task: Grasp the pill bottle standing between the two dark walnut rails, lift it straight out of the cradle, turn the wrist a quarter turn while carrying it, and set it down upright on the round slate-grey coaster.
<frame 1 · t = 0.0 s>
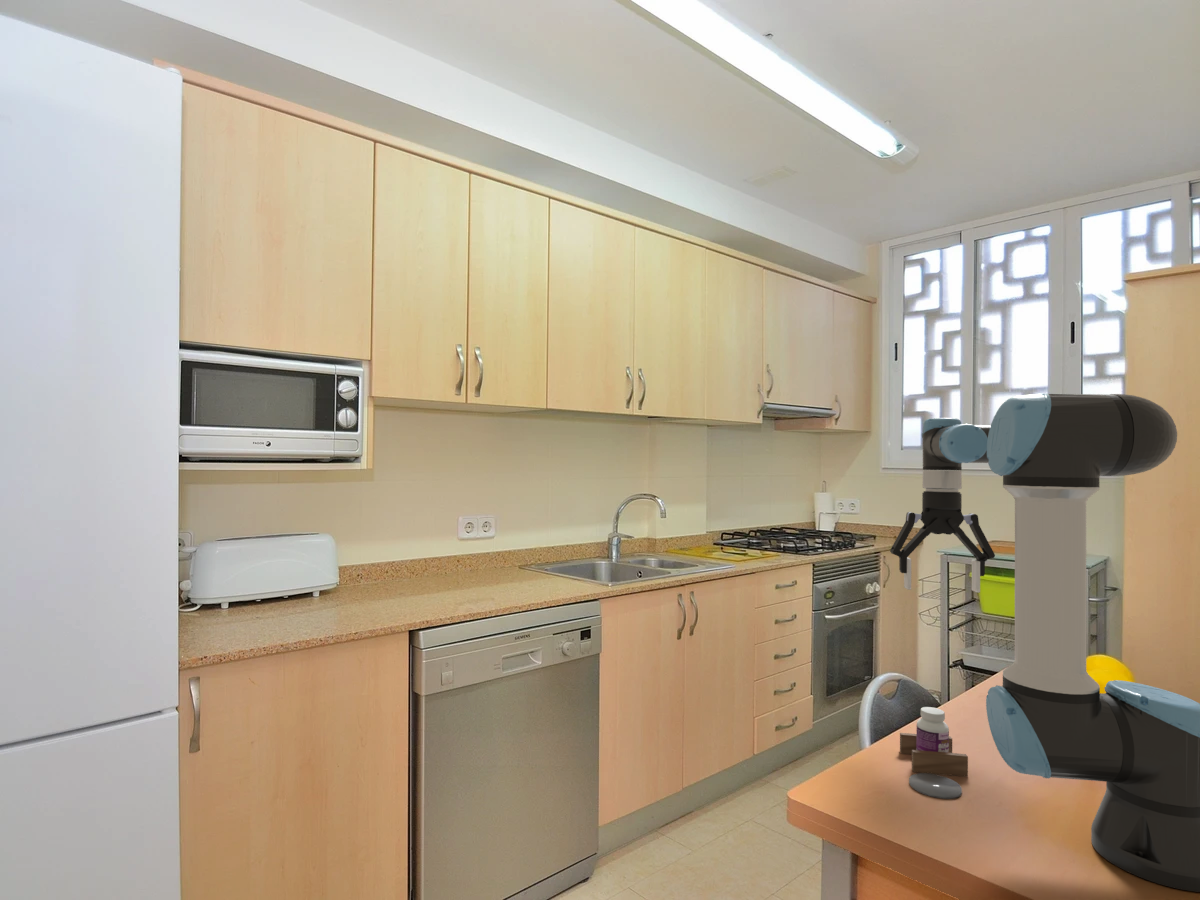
hand: (941, 590, 146), 28 cm above the table, fingers open, 13 cm apart
rail cradle: (932, 763, 125), on the table
pill bottle: (932, 764, 125), on the table
coaster: (935, 787, 116), on the table
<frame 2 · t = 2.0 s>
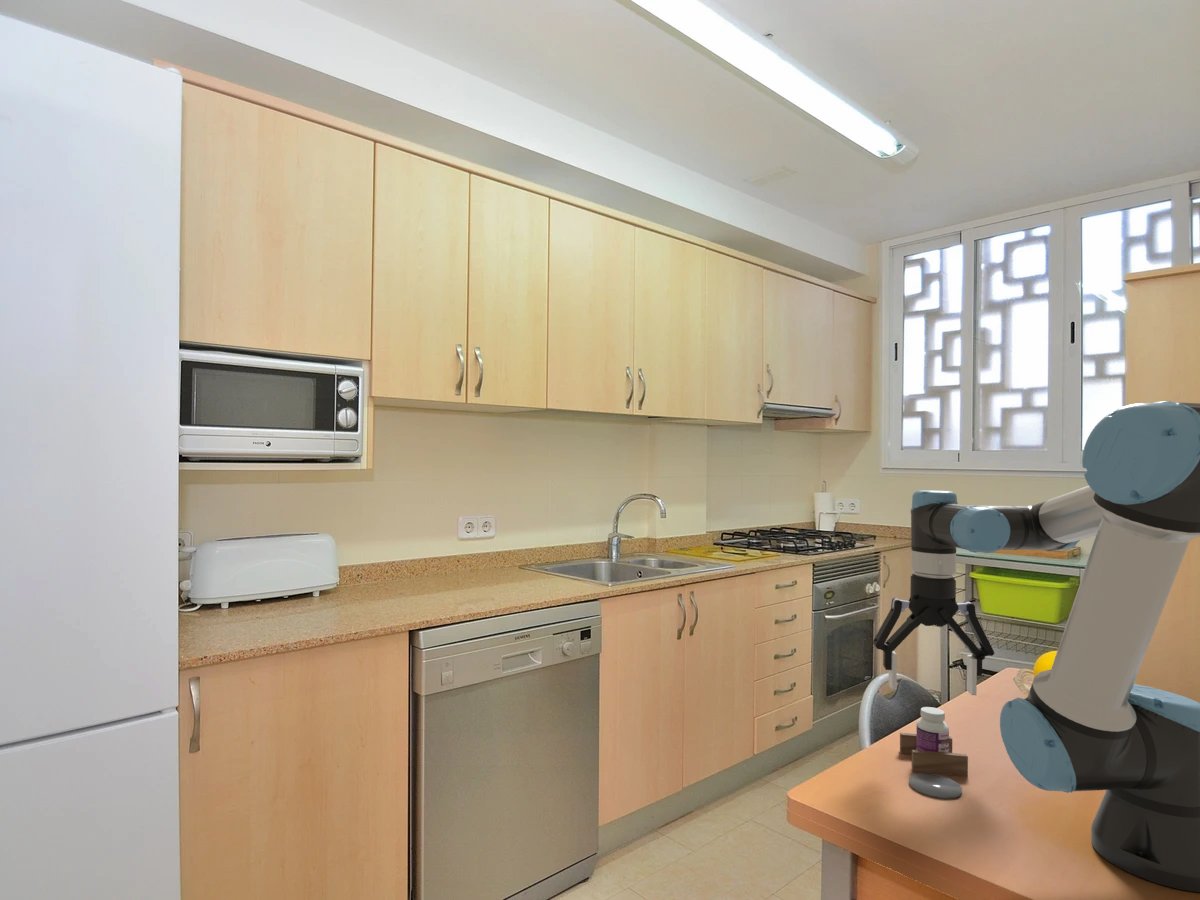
hand: (931, 690, 126), 13 cm above the table, fingers open, 13 cm apart
nothing on the table moved.
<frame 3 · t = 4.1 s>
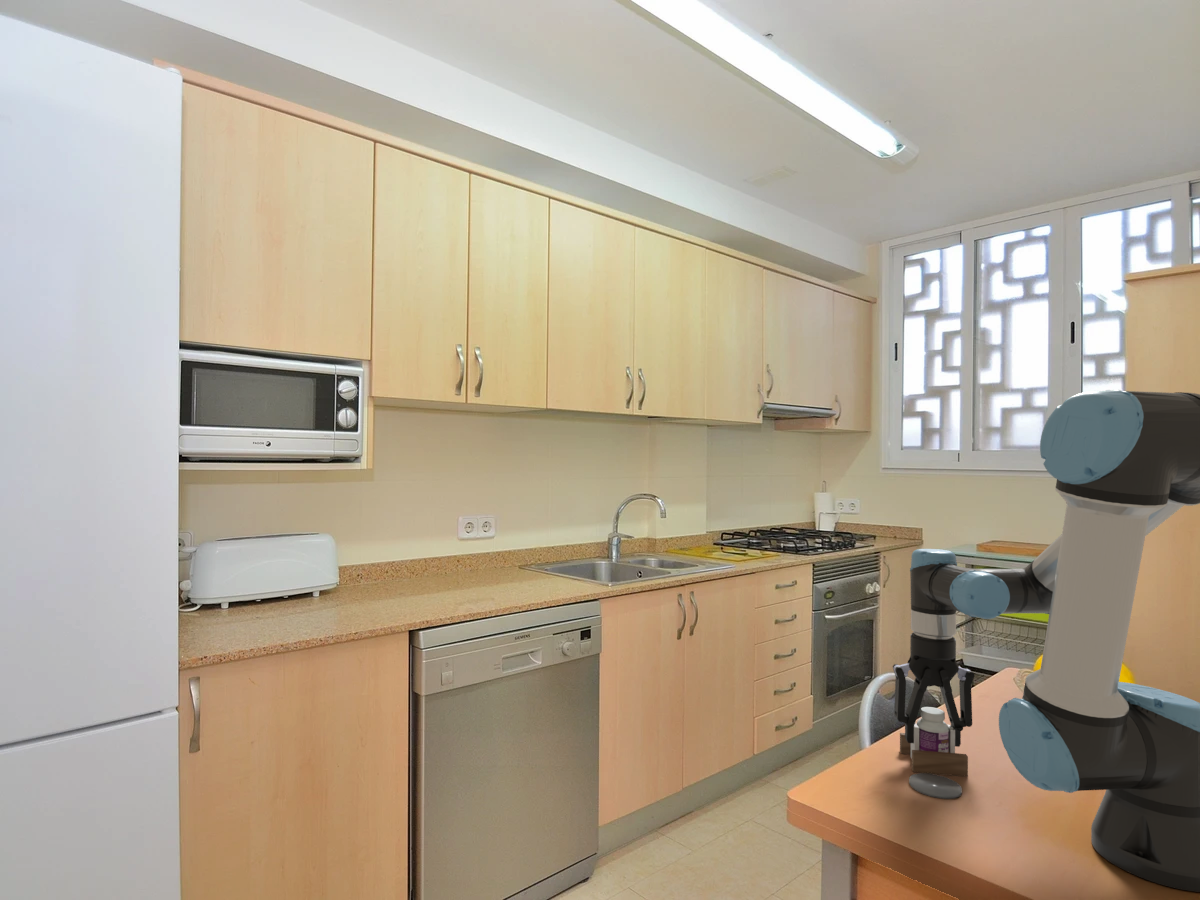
hand: (932, 761, 125), 0 cm above the table, fingers closed on pill bottle, 5 cm apart
pill bottle: (932, 764, 125), on the table, touching gripper
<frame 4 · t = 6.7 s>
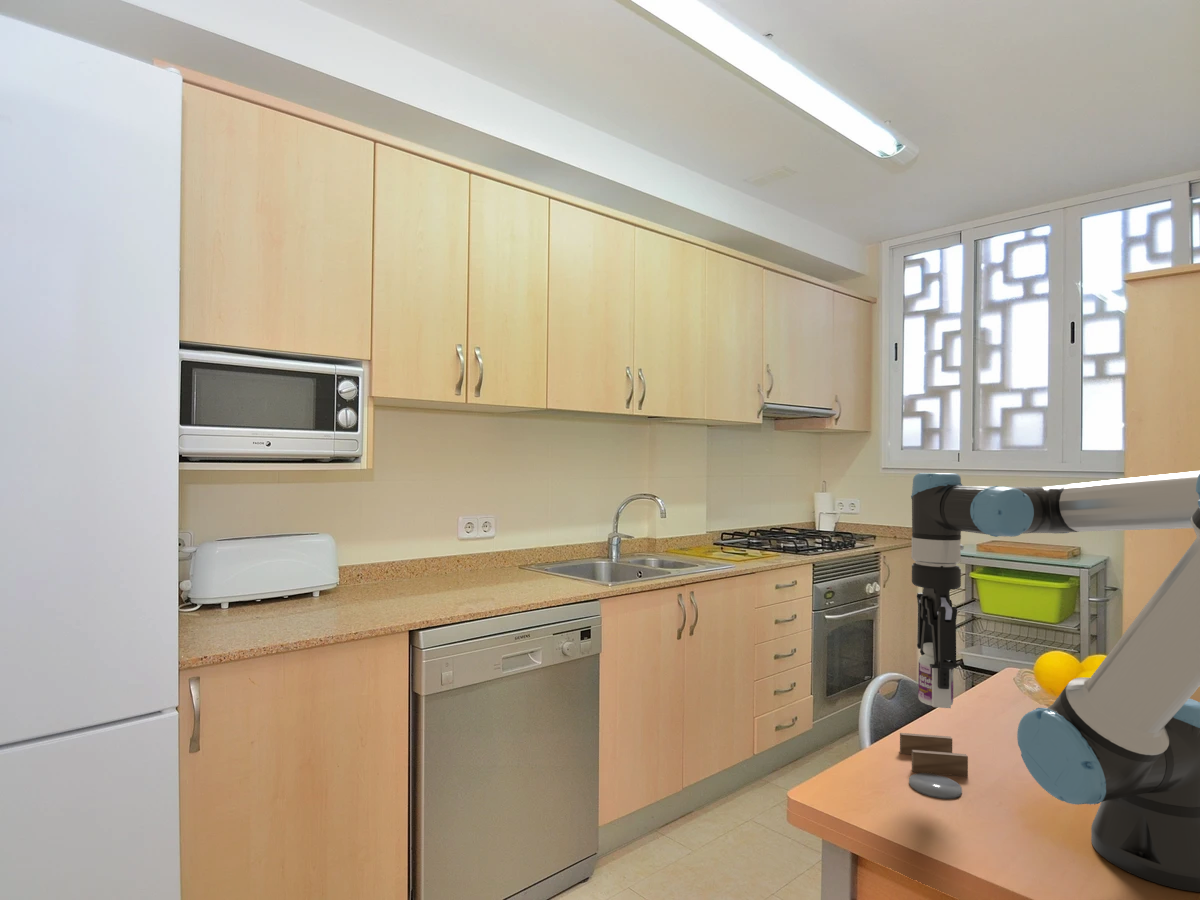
hand: (935, 700, 116), 15 cm above the table, fingers closed on pill bottle, 5 cm apart
pill bottle: (935, 703, 116), point 14 cm above the table, touching gripper
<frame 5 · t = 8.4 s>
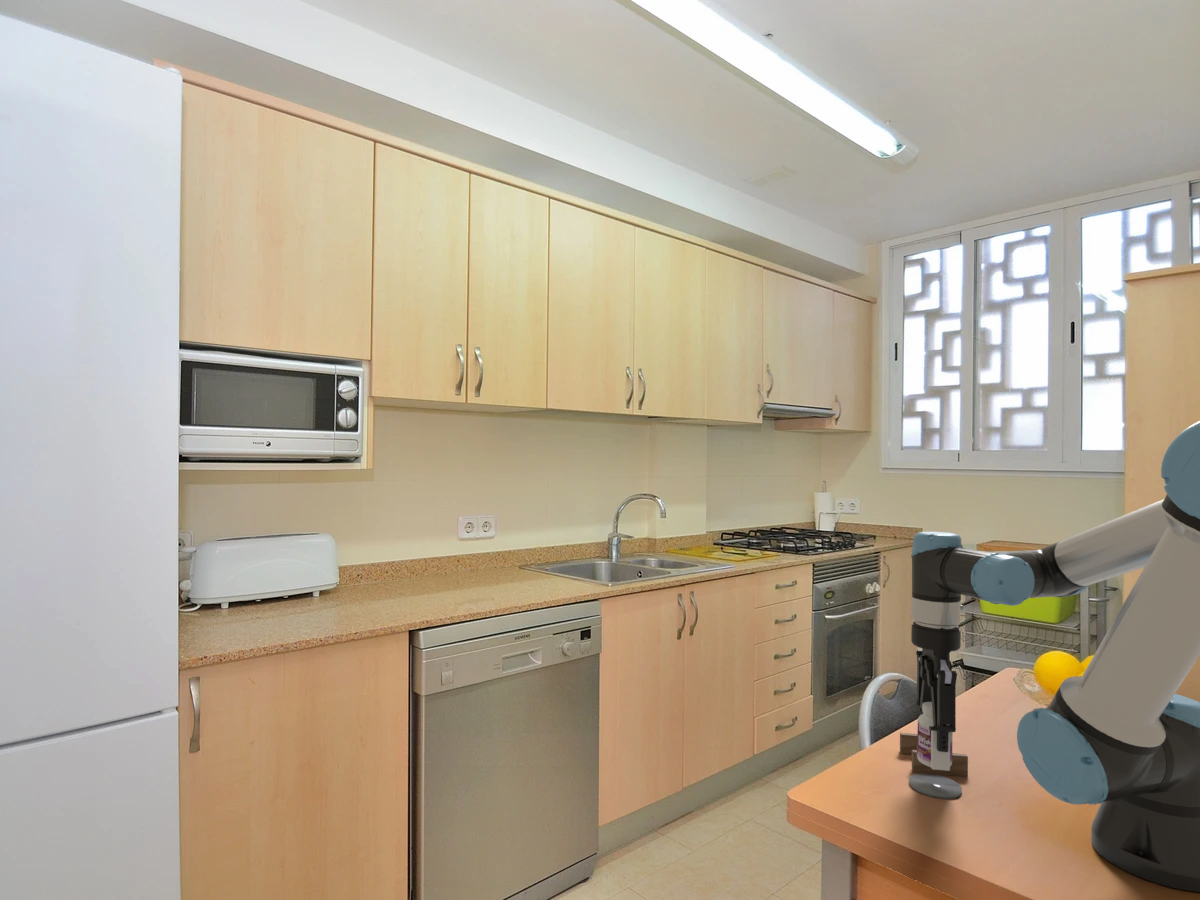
hand: (934, 760, 116), 4 cm above the table, fingers closed on pill bottle, 5 cm apart
pill bottle: (934, 764, 116), point 4 cm above the table, touching gripper
when the fingers open (2 cm above the table, at t = 9.6 s): pill bottle drops 1 cm, resting on coaster.
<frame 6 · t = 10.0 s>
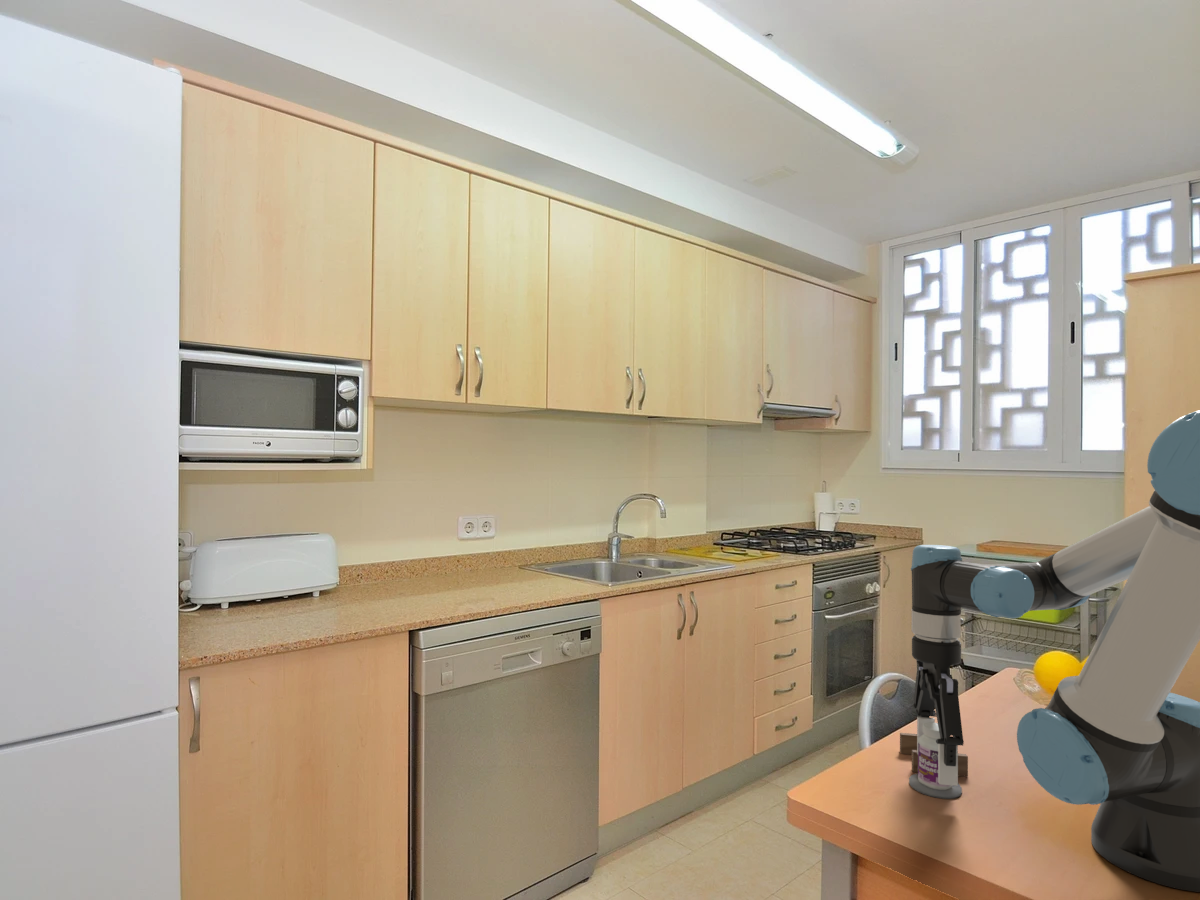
hand: (936, 769, 115), 3 cm above the table, fingers open, 11 cm apart
pill bottle: (935, 784, 116), resting on coaster
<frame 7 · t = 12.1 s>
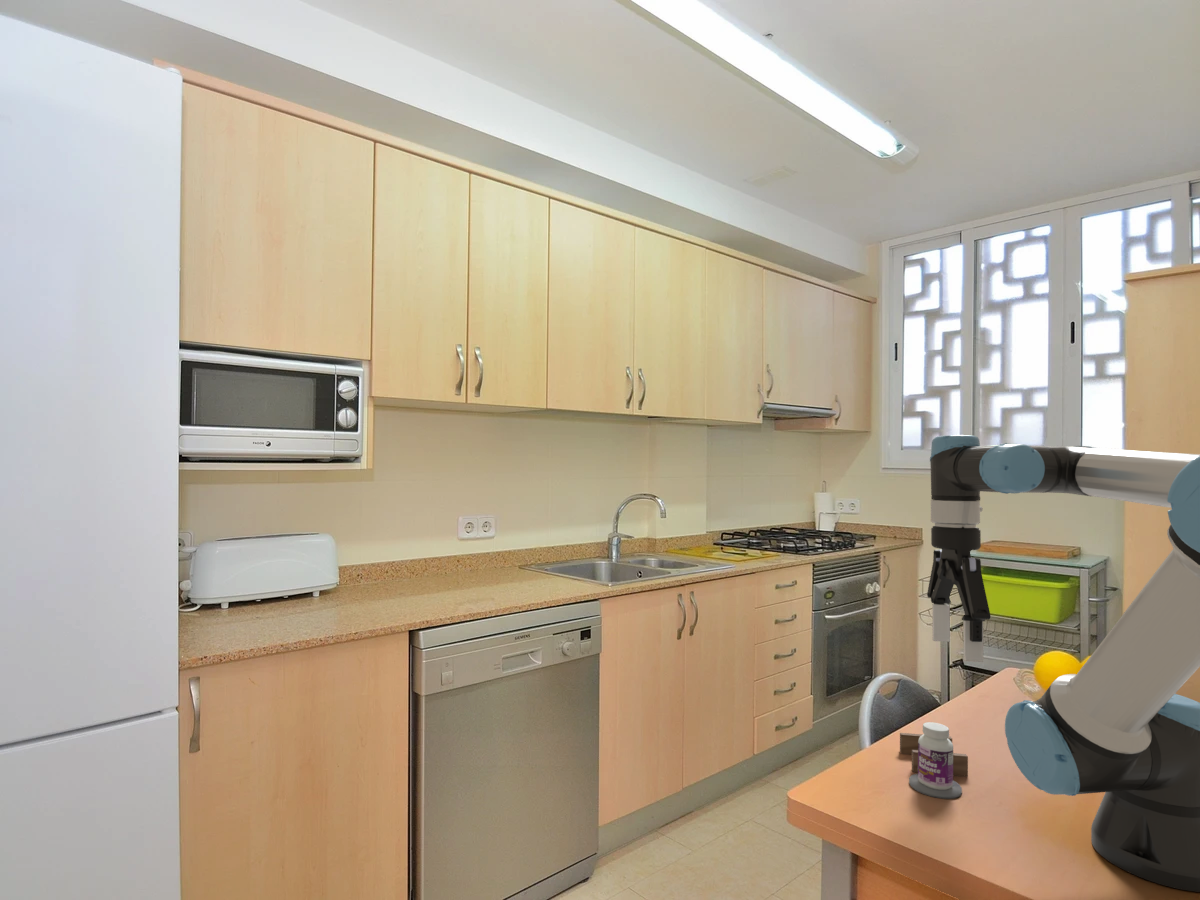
hand: (956, 650, 117), 23 cm above the table, fingers open, 13 cm apart
nothing on the table moved.
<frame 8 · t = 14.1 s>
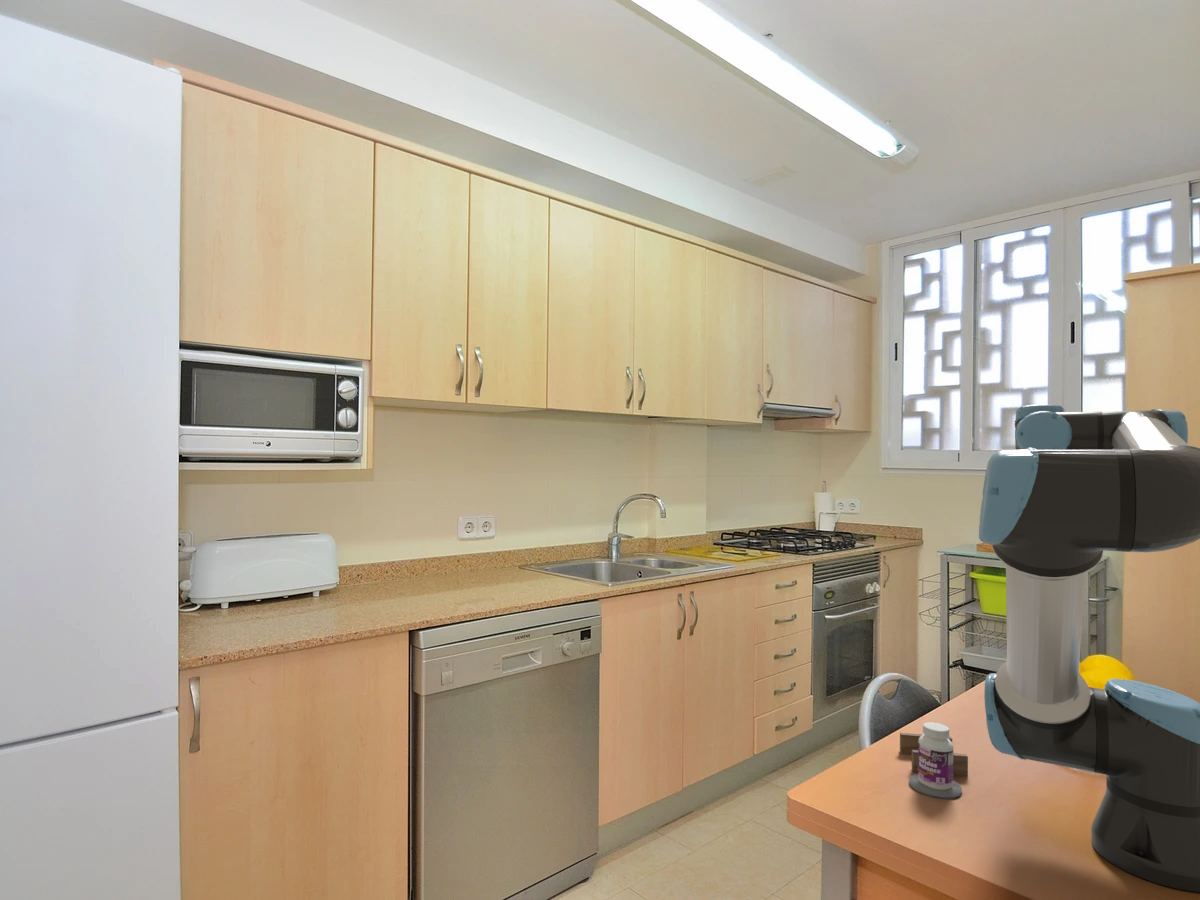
hand: (1039, 611, 122), 29 cm above the table, fingers open, 13 cm apart
nothing on the table moved.
at the end: pill bottle 0.0 cm from the coaster (horizontally); pill bottle tilted 0°; pill bottle resting on coaster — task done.
